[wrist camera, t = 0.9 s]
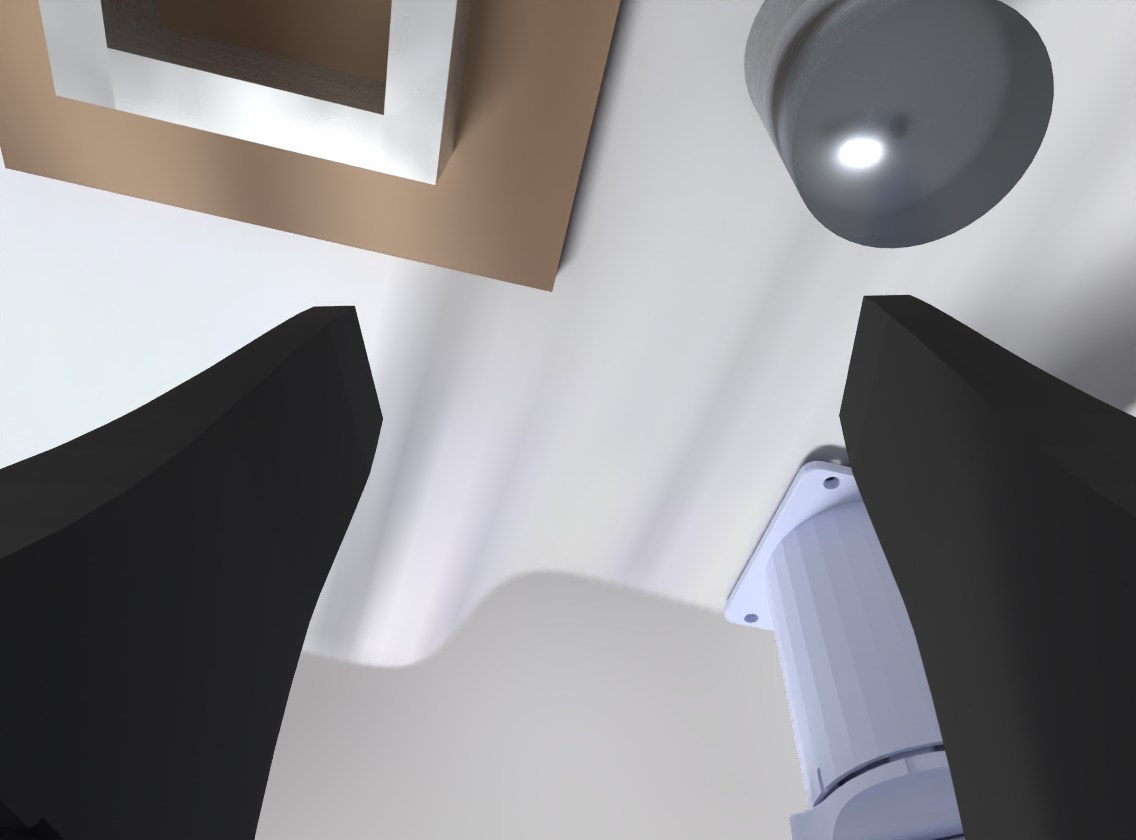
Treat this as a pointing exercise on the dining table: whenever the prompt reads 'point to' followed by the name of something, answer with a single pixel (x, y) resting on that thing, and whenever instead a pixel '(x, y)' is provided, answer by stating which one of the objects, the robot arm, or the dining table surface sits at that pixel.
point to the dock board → (332, 189)
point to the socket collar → (272, 83)
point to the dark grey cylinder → (900, 109)
